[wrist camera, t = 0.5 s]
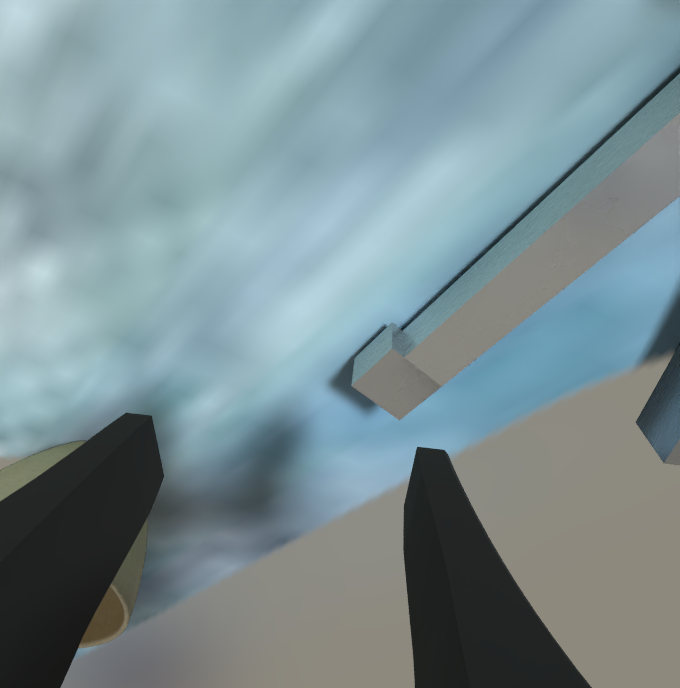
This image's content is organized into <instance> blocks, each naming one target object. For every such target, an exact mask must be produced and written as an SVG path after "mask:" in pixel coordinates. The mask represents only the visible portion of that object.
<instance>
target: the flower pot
mask: <svg viewBox="0 0 680 688" xmlns="http://www.w3.org/2000/svg"><path fill="white" fill-rule="evenodd" d="M85 442H86V441H76V442H71V443H67V444H64V445H60V446H57V447H54V448H51V449H48V450H45V451H42V452H39V453H37V454H34V455H32V456H29V457H27V458H25V459H22V460H20V461H18V462H16V463H13V464H11V465H9V466H7V467H5V468H3V469H1V470H0V501H1V500H3V499H4V498H6V497H7V496H9V495H10V494H12V493H14V492H15V491H17V490H18V489H20V488H21V487H23V486H24V485H26V484H27V483H29V482H30V481H32V480H33V479H35V478H36V477H38V476H39V475H40V474H42V473H43V472H45V471H46V470H47V469H49V468H50V467H52V466H53V465H54V464H56V463H57V462H59V461H60V460H62V459H63V458H64V457H66V456H67V455H69V454H70V453H71V452H73V451H74V450H76V449H77V448H78V447H80V446H81V445H82V444H84V443H85ZM147 530H148V518H147V519H146V521H145V523H144V525H143V527H142V529H141V531H140V532H139V534H138V536H137V538H136V540H135V542H134V543H133V545H132V547H131V549H130V551H129V553H128V554H127V556H126V558H125V560H124V562H123V563H122V565H121V567H120V569H119V571H118V572H117V574H116V576H115V578H114V580H113V581H112V583H111V585H110V587H109V589H108V590H107V592H106V594H105V596H104V598H103V599H102V601H101V603H100V605H99V607H98V609H97V610H96V612H95V614H94V616H93V618H92V620H91V622H90V624H89V626H88V628H87V630H86V632H85V634H84V636H83V638H82V640H81V642H80V645H79V647H78V648H84V647H92V646H96V645H100V644H103V643H107V642H109V641H111V640H113V639H115V638H116V637H118V636H119V635H120V634H121V633H122V632H123V631H124V630H125V629H126V627H127V625H128V622H129V619H130V616H131V613H132V610H133V607H134V604H135V601H136V597H137V593H138V589H139V585H140V581H141V576H142V572H143V567H144V561H145V554H146V546H147Z"/></svg>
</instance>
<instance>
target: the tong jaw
mask: <svg viewBox="0 0 680 688" xmlns="http://www.w3.org/2000/svg"><path fill="white" fill-rule="evenodd" d="M679 196H680V74H678V75H677V76H676V77H675V78H674V79H673V80H672V81H671V82H670V83H669V84H668V85H667V86H666V87H665V88H663V89H662V90H661V91H660V92H659V93H658V94H657V95H656V96H655V97H654V98H653V99H652V100H651V101H649V102H648V103H647V104H646V105H645V106H644V107H643V108H642V109H641V110H640V111H639V112H638V113H637V114H635V115H634V116H633V117H632V118H631V119H630V120H629V121H628V122H627V123H626V124H625V125H624V126H623V127H621V128H620V129H619V130H618V131H617V132H616V133H615V134H614V135H613V136H612V137H611V138H610V139H609V140H607V141H606V142H605V143H604V144H603V145H602V146H601V147H600V148H599V149H598V150H597V151H596V152H595V153H593V154H592V155H591V156H590V157H589V158H588V159H587V160H586V161H585V162H584V163H583V164H582V165H581V166H580V167H578V168H577V169H576V170H575V171H574V172H573V173H572V174H571V175H570V176H569V177H568V178H567V179H566V180H564V181H563V182H562V183H561V184H560V185H559V186H558V187H557V188H556V189H555V190H554V191H553V192H552V193H550V194H549V195H548V196H547V197H546V198H545V199H544V200H543V201H542V202H541V203H540V204H539V205H538V206H536V207H535V208H534V209H533V210H532V211H531V212H530V213H529V214H528V215H527V216H526V217H525V218H524V219H522V220H521V221H520V222H519V223H518V224H517V225H516V226H515V227H514V228H513V229H512V230H511V231H510V232H508V233H507V234H506V235H505V236H504V237H503V238H502V239H501V240H500V241H499V242H498V243H497V244H496V245H495V246H493V247H492V248H491V249H490V250H489V251H488V252H487V253H486V254H485V255H484V256H483V257H482V258H481V259H479V260H478V261H477V262H476V263H475V264H474V265H473V266H472V267H471V268H470V269H469V270H468V271H467V272H465V273H464V274H463V275H462V276H461V277H460V278H459V279H458V280H457V281H456V282H455V283H454V284H453V285H451V286H450V287H449V288H448V289H447V290H446V291H445V292H444V293H443V294H442V295H441V296H440V297H439V298H437V299H436V300H435V301H434V302H433V303H432V304H431V305H430V306H429V307H428V308H427V309H426V310H425V311H423V312H422V313H421V314H420V315H419V316H418V317H417V318H416V319H415V320H414V321H413V322H412V323H411V324H410V325H408V326H407V327H406V328H405V329H404V330H403V331H402V330H401V329H400V328H399V327H397V326H396V325H395V324H394V323H391V324H390V325H389V326H388V327H387V328H386V329H385V330H383V331H382V332H381V333H380V334H379V335H378V336H377V337H376V338H375V339H374V340H373V341H372V342H371V343H370V344H369V345H368V346H367V347H366V348H365V349H364V350H363V351H362V352H360V353H359V354H358V355H357V356H356V357H355V359H354V368H353V376H352V385H351V386H352V387H353V388H355V389H356V390H358V391H359V392H361V393H362V394H363V395H365V396H366V397H368V398H369V399H370V400H372V401H373V402H375V403H376V404H377V405H379V406H380V407H382V408H383V409H384V410H386V411H387V412H389V413H390V414H391V415H393V416H394V417H396V418H397V419H398V420H400V419H402V418H403V417H404V416H405V415H407V414H408V413H409V412H410V411H412V410H413V409H414V408H415V407H417V406H418V405H419V404H420V403H422V402H423V401H424V400H425V399H427V398H428V397H429V396H430V395H432V394H433V393H434V392H435V391H437V390H438V389H439V388H440V387H442V386H443V385H444V384H445V383H447V382H448V381H449V380H450V379H452V378H453V377H454V376H455V375H457V374H458V373H459V372H460V371H462V370H463V369H464V368H465V367H467V366H468V365H469V364H470V363H472V362H473V361H474V360H475V359H477V358H478V357H479V356H480V355H482V354H483V353H484V352H485V351H487V350H488V349H489V348H490V347H492V346H493V345H494V344H495V343H497V342H498V341H499V340H500V339H502V338H503V337H504V336H505V335H507V334H508V333H509V332H510V331H512V330H513V329H514V328H515V327H517V326H518V325H519V324H520V323H522V322H523V321H524V320H525V319H527V318H528V317H529V316H530V315H532V314H533V313H534V312H535V311H537V310H538V309H539V308H540V307H542V306H543V305H544V304H545V303H547V302H548V301H549V300H550V299H552V298H553V297H554V296H555V295H557V294H558V293H559V292H560V291H562V290H563V289H564V288H565V287H567V286H568V285H569V284H570V283H572V282H573V281H574V280H575V279H577V278H578V277H579V276H580V275H582V274H583V273H584V272H585V271H587V270H588V269H589V268H590V267H592V266H593V265H594V264H595V263H597V262H598V261H599V260H600V259H602V258H603V257H604V256H605V255H607V254H608V253H609V252H610V251H612V250H613V249H614V248H615V247H617V246H618V245H619V244H620V243H622V242H623V241H624V240H625V239H627V238H628V237H629V236H630V235H632V234H633V233H634V232H635V231H637V230H638V229H639V228H640V227H642V226H643V225H644V224H645V223H647V222H648V221H649V220H650V219H652V218H653V217H654V216H655V215H657V214H658V213H659V212H660V211H662V210H663V209H664V208H665V207H667V206H668V205H669V204H670V203H672V202H673V201H674V200H675V199H677V198H678V197H679Z"/></svg>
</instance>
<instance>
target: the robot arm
mask: <svg viewBox="0 0 680 688" xmlns="http://www.w3.org/2000/svg"><path fill="white" fill-rule="evenodd" d="M163 478H164V474H163V469H162V464H161V459H160V454H159V449H158V445H157V440H156V435H155V430H154V425H153V420H152V416H149V415H141V414H132V413H125V414H124V415H122V416H121V417H119V418H118V419H117V420H115V421H114V422H112V423H111V424H110V425H108V426H107V427H106V428H104V429H103V430H101V431H100V432H99V433H97V434H96V435H95V436H93V437H92V438H91V439H89V440H88V441H86V442H85V443H84V444H82V445H81V446H80V447H78V448H77V449H76V450H74V451H73V452H71V453H70V454H69V455H67V456H66V457H64V458H63V459H62V460H60V461H59V462H57V463H56V464H54V465H53V466H52V467H50V468H49V469H47V470H46V471H45V472H43V473H42V474H40V475H39V476H38V477H36V478H35V479H33V480H32V481H30V482H29V483H27V484H26V485H24V486H23V487H21V488H20V489H18V490H17V491H15V492H14V493H12V494H10V495H9V496H7V497H6V498H4V499H3V500H1V501H0V688H60V687H61V685H62V683H63V681H64V678H65V676H66V674H67V671H68V669H69V667H70V665H71V663H72V660H73V658H74V656H75V654H76V651H77V649H78V647H79V645H80V642H81V640H82V638H83V636H84V634H85V632H86V630H87V628H88V626H89V624H90V622H91V620H92V618H93V616H94V614H95V612H96V610H97V609H98V607H99V605H100V603H101V601H102V599H103V598H104V596H105V594H106V592H107V590H108V589H109V587H110V585H111V583H112V581H113V580H114V578H115V576H116V574H117V572H118V571H119V569H120V567H121V565H122V563H123V562H124V560H125V558H126V556H127V554H128V553H129V551H130V549H131V547H132V545H133V543H134V542H135V540H136V538H137V536H138V534H139V532H140V531H141V529H142V527H143V525H144V523H145V521H146V519H147V518H148V515H149V513H150V510H151V508H152V506H153V503H154V501H155V498H156V496H157V493H158V491H159V488H160V485H161V483H162V480H163ZM404 561H405V572H406V583H407V594H408V605H409V615H410V625H411V636H412V647H413V659H414V675H415V688H592V687H591V686H590V685H589V684H588V683H587V681H586V680H585V679H584V677H583V676H582V675H581V674H580V672H579V671H578V670H577V669H576V667H575V666H574V665H573V663H572V662H571V661H570V659H569V658H568V656H567V655H566V654H565V653H564V651H563V650H562V649H561V647H560V646H559V644H558V643H557V642H556V640H555V639H554V638H553V636H552V635H551V633H550V632H549V631H548V629H547V628H546V626H545V625H544V623H543V622H542V621H541V619H540V618H539V616H538V615H537V614H536V612H535V611H534V609H533V608H532V606H531V605H530V603H529V602H528V600H527V599H526V597H525V596H524V594H523V593H522V591H521V590H520V588H519V587H518V585H517V583H516V582H515V580H514V579H513V577H512V575H511V574H510V572H509V571H508V569H507V567H506V566H505V564H504V563H503V561H502V559H501V557H500V556H499V554H498V552H497V551H496V549H495V547H494V546H493V544H492V542H491V540H490V538H489V537H488V535H487V533H486V531H485V529H484V528H483V526H482V524H481V522H480V521H479V519H478V517H477V515H476V513H475V511H474V509H473V507H472V505H471V503H470V501H469V499H468V497H467V495H466V493H465V491H464V489H463V487H462V485H461V483H460V481H459V479H458V477H457V474H456V472H455V470H454V468H453V465H452V463H451V461H450V458H449V456H448V454H447V453H446V452H445V450H440V449H431V448H423V447H417V450H416V454H415V459H414V463H413V468H412V472H411V477H410V481H409V486H408V491H407V495H406V499H405V504H404Z"/></svg>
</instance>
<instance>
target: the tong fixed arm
mask: <svg viewBox="0 0 680 688" xmlns="http://www.w3.org/2000/svg"><path fill="white" fill-rule="evenodd" d="M636 423H637V425H638V426H639V428H640V429H641V431H642V432H643V434H644V435H645V437H646V438H647V439H648V441H649V442H650V444H651V445H652V447H653V448H654V450H655V451H656V453H657V454H658V455H659V457H660V458H661V460H662V461H663V462H664V463H666V464H674V465H680V345H679V346H678V348H677V350H676V352H675V353H674V355H673V357H672V359H671V361H670V362H669V364H668V366H667V368H666V370H665V371H664V373H663V375H662V376H661V378H660V380H659V382H658V384H657V386H656V387H655V389H654V391H653V393H652V394H651V396H650V398H649V400H648V402H647V403H646V405H645V407H644V409H643V410H642V412H641V414H640V416H639V417H638V419H637V421H636Z"/></svg>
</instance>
